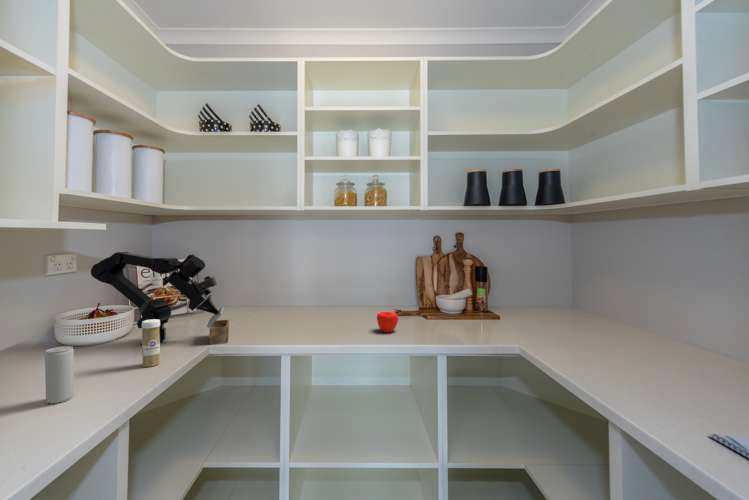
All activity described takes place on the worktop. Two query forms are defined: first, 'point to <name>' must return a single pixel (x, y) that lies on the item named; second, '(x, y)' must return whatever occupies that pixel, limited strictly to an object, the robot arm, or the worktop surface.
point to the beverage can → (59, 374)
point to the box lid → (215, 317)
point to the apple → (387, 321)
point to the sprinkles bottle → (150, 342)
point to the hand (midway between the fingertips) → (218, 313)
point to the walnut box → (219, 332)
